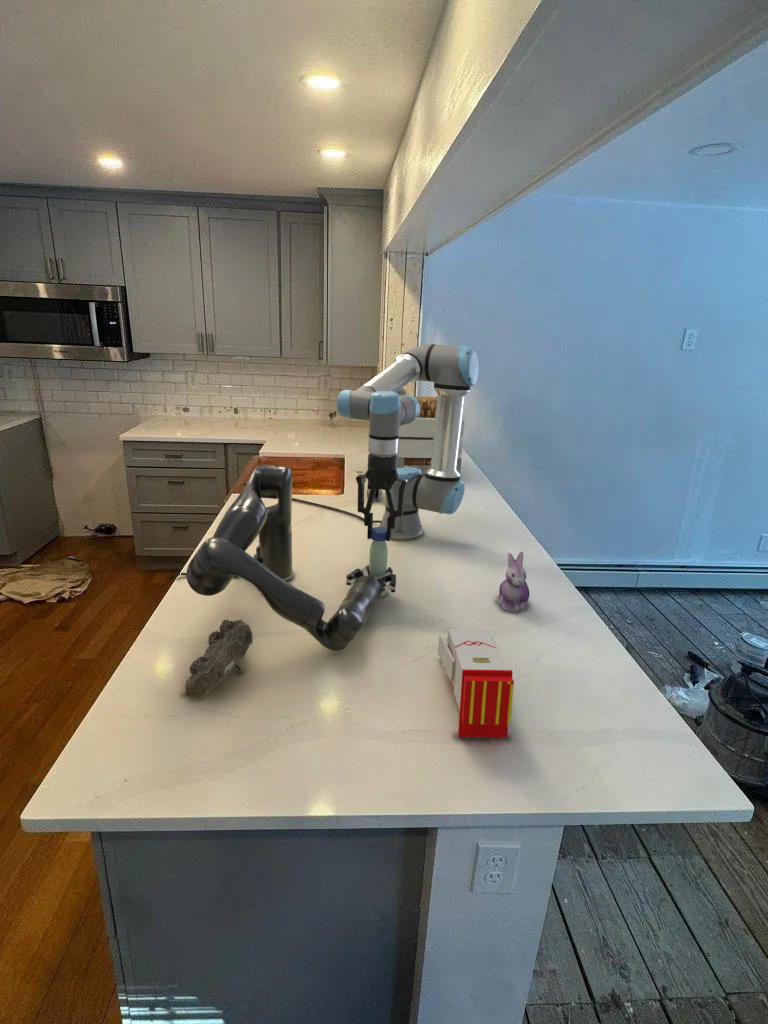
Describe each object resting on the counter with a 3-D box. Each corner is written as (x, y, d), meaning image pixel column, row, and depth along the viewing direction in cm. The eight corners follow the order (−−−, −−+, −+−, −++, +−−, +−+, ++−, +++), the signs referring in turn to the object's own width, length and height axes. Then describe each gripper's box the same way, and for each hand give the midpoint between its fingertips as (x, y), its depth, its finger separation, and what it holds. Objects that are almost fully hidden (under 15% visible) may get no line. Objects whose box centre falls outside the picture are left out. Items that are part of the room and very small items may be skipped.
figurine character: (382, 506, 231) (382, 491, 244) (383, 489, 227) (382, 474, 241) (366, 505, 230) (366, 490, 244) (366, 488, 227) (367, 474, 240)
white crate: (382, 463, 289) (386, 382, 275) (445, 464, 293) (451, 384, 279) (390, 482, 257) (394, 392, 243) (460, 483, 261) (468, 394, 247)
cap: (375, 533, 155) (375, 525, 155) (390, 537, 153) (391, 528, 153) (367, 539, 151) (367, 531, 150) (383, 542, 149) (383, 534, 149)
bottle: (367, 588, 160) (370, 529, 154) (385, 588, 160) (388, 529, 154) (368, 596, 156) (370, 535, 149) (386, 597, 156) (389, 536, 150)
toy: (488, 613, 130) (523, 677, 101) (484, 667, 133) (517, 744, 104) (435, 612, 130) (455, 676, 101) (432, 666, 133) (451, 743, 103)
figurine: (511, 616, 149) (518, 564, 143) (487, 598, 157) (493, 549, 152) (539, 609, 153) (547, 558, 148) (514, 592, 161) (521, 544, 156)
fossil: (205, 622, 132) (252, 592, 127) (234, 650, 134) (280, 621, 129) (164, 690, 112) (217, 657, 107) (198, 721, 115) (251, 691, 110)
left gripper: (335, 604, 146) (355, 576, 161) (389, 614, 142) (404, 584, 158) (336, 578, 143) (356, 552, 159) (391, 587, 140) (406, 560, 155)
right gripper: (419, 453, 147) (413, 536, 154) (353, 447, 149) (350, 529, 157) (414, 460, 140) (409, 547, 147) (345, 454, 142) (344, 539, 150)
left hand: (380, 568), depth 158 cm, fingers closed on bottle, 5 cm apart
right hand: (379, 538), depth 152 cm, fingers closed on cap, 4 cm apart
